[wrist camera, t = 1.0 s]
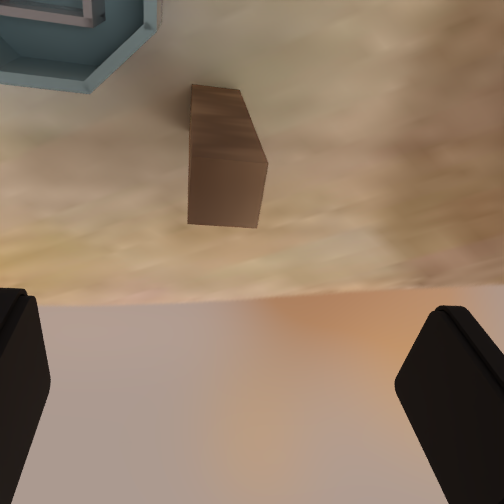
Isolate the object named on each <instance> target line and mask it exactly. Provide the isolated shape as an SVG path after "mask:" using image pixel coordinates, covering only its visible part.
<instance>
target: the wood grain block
mask: <svg viewBox="0 0 504 504" xmlns="http://www.w3.org/2000/svg"><path fill="white" fill-rule="evenodd" d="M267 168H268V162H267V159H266V156H265V154H264V151H263V149H262V146H261V144H260V141H259V138H258V136H257V133H256V131H255V128H254V126H253V123H252V120H251V118H250V115H249V113H248V110H247V108H246V105H245V102H244V100H243V97H242V95H241V92H240V90H234V89H226V88H218V87H210V86H202V85H194V84H192V96H191V113H190V130H189V176H188V224H196V225H212V226H227V227H243V228H257V225H258V220H259V214H260V208H261V202H262V197H263V191H264V185H265V180H266V174H267Z"/></svg>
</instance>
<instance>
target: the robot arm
mask: <svg viewBox="0 0 504 504" xmlns="http://www.w3.org/2000/svg"><path fill="white" fill-rule="evenodd" d="M50 380H51V379H50V372H49V367H48V361H47V356H46V350H45V345H44V341H43V334H42V329H41V323H40V318H39V313H38V307H37V302H36V298H35V297H34V296H28V295H27V292H26V290H25V289H18V288H0V504H11V502H12V499H13V496H14V493H15V490H16V487H17V485H18V482H19V479H20V476H21V472H22V470H23V467H24V464H25V461H26V458H27V455H28V452H29V449H30V446H31V444H32V440H33V438H34V435H35V432H36V429H37V426H38V423H39V420H40V417H41V414H42V411H43V408H44V406H45V403H46V400H47V397H48V394H49V390H50V382H51V381H50ZM395 391H396V394H397V396H398V398H399V400H400V402H401V404H402V406H403V408H404V410H405V413H406V415H407V417H408V419H409V421H410V423H411V425H412V427H413V430H414V432H415V434H416V436H417V438H418V440H419V442H420V444H421V446H422V448H423V450H424V452H425V455H426V457H427V459H428V461H429V463H430V465H431V467H432V469H433V472H434V473H435V476H436V478H437V480H438V482H439V484H440V486H441V488H442V491H443V493H444V494H445V497H446V499H447V501H448V503H449V504H504V354H503V353H502V352H501V351H500V350H499V348H498V347H497V346H496V344H495V343H494V342H493V341H492V340H491V338H490V337H489V336H488V334H487V333H486V332H485V331H484V329H483V328H482V327H481V326H480V324H479V323H478V322H477V321H476V319H475V318H474V317H473V316H472V314H471V313H470V312H469V311H468V310H467V309H466V308H465V307H462V306H444V305H443V306H439V307H437V308H436V309H435V311H432V312H431V313H430V314H429V316H428V318H427V320H426V322H425V323H424V325H423V327H422V329H421V331H420V333H419V335H418V337H417V339H416V341H415V342H414V344H413V346H412V348H411V350H410V352H409V354H408V356H407V358H406V359H405V361H404V363H403V365H402V367H401V369H400V371H399V373H398V375H397V377H396V379H395Z"/></svg>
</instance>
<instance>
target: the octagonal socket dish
mask: <svg viewBox="0 0 504 504" xmlns="http://www.w3.org/2000/svg"><path fill="white" fill-rule="evenodd" d="M162 5H163V0H0V84H5V85H14V86H23V87H31V88H40V89H49V90H58V91H66V92H75V93H84V94H91V93H92V92H93V91H94V90H95V89H96V88H97V87H98V86H99V85H100V84H101V83H102V82H104V81H105V80H106V79H107V78H108V77H109V76H110V75H111V74H112V73H113V72H114V71H115V70H116V69H117V68H118V67H120V66H121V65H122V64H123V63H124V62H125V61H126V60H127V59H128V58H129V57H130V56H131V55H132V54H133V53H135V52H136V51H137V50H138V49H139V48H140V47H141V46H142V45H143V44H144V43H145V42H146V41H147V40H148V39H150V38H151V37H152V36H153V35H154V34H155V33H156V32H157V30H158V28H159V26H160V25H161V23H162Z"/></svg>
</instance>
